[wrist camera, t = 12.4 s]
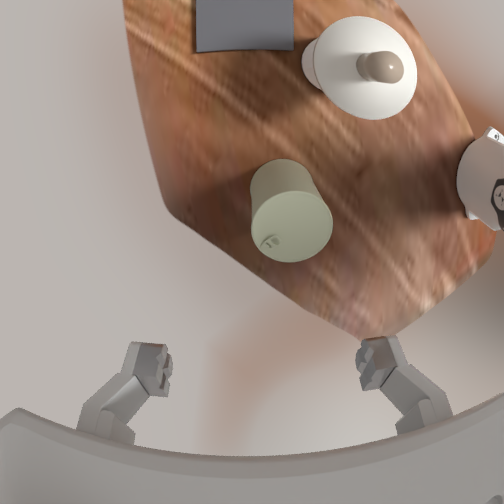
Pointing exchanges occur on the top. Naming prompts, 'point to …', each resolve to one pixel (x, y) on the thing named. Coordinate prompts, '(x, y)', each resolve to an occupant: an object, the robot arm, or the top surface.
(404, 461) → the robot arm
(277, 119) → the top surface
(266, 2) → the mat
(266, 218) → the can
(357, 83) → the lid
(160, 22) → the top surface
